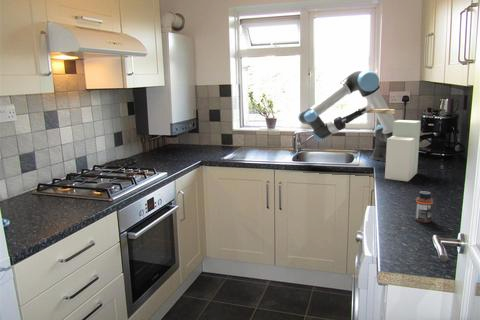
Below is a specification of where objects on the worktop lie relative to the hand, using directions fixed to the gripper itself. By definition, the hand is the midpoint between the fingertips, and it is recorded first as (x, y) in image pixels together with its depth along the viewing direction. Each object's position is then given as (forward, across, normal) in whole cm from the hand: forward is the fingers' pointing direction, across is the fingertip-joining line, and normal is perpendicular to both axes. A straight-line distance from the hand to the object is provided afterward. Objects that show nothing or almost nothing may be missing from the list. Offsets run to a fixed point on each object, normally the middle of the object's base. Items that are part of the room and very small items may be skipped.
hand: (372, 106), depth 229 cm
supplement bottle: (+18, +68, -55) cm, 89 cm away
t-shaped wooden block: (0, 0, -4) cm, 4 cm away
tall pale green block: (-4, -2, -42) cm, 42 cm away
